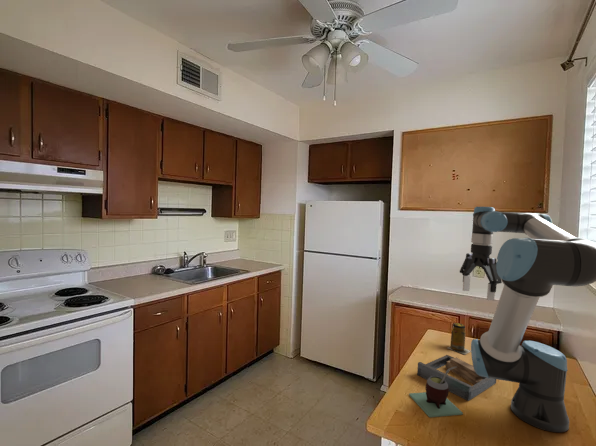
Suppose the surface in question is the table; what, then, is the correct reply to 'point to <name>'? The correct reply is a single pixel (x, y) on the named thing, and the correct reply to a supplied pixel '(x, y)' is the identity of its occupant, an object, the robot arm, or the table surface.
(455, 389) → the tray
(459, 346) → the condiment
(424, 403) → the green mat
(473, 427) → the table surface
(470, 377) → the offcut stack
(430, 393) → the mate gourd
